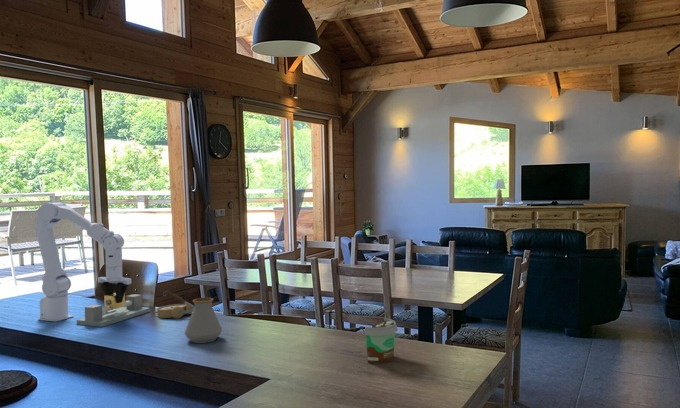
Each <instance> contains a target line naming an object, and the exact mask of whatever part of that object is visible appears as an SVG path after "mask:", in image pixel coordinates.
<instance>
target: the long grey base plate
mask: <svg viewBox="0 0 680 408" xmlns="http://www.w3.org/2000/svg"><path fill="white" fill-rule="evenodd" d="M142 301H143V300H142V294H130V295H129V294H128V295H125V306H123V307H120V308H116V309H108V308H107V307H105V306H104V307H103V305H100V304H92V305H91V304H90V305H88V306H84V317H82V318H79V319H76V325H81V326H90V327H92V326H93V327H100V328H103V327H105V326H110V325H112V324H115V323H118V322H122V321H125V320H128V319H131V318H134V317H137V316H141V315H144V314H146V313H150V311H151V307H143V304H142V303H143V302H142Z"/></svg>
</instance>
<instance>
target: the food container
mask: <svg viewBox="0 0 680 408" xmlns="http://www.w3.org/2000/svg"><path fill="white" fill-rule="evenodd" d="M383 320H384V321H382V322H381V323H380V322H379V323H376V324H374V325H373V326H370V327H369V326H365V330H364V335H365V339H366V340H365V341H366V354H367V355H366V357H367V358H366V359H367V363H368V364H386V363H387V364H388V363H390V362H393V360H394V355H395V354H394V353H395V343H396V342H395V339H396V333H397V332H398V326H397V323H396V321H395V320H394V319H391V318H387V317H384V319H383Z"/></svg>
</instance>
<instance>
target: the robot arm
mask: <svg viewBox="0 0 680 408" xmlns="http://www.w3.org/2000/svg"><path fill="white" fill-rule="evenodd" d="M36 213H37V216H36V220H35V224H34V228H35V233H36V238H37V241H38V246H39V250H40V254H41V259H42V263H43V268H44V271H45V272H44V274H43V276H42V286H41V290H42V293H43V294H44V295H43V296H42V297H41V298H40V301H39V317H38V318H37V320H38V321H48V322H60V321H63V320H66V319H70V318H74V314H73V315H71V314H69V297H68V296H69V289H70V288H71V286H72V282H71V279H70V278H69V277H68V275H67V272H66V271H65V270H64V269H63V268H62V264H61V261H60V255H59V250H58V247H57V242H56V239H55V235H54V230H53V229H54V227H55V226H56V225H57V224H58V222H60V221H62V220H68V221H70V222H71V223H74V224H75V225H77V226H78V227H80V228H81V229H83V230H85V231H86V235H87V236H89V237H90V238H92V239H93V240H94V241H96V242H98V244H100V245H102V248H103V249H104V250H105V276H100V277H97V283H99V284H100V283H102V284H100V288H101V290H102V291H103V293H104V295H108V294H112V293H116V301H117V303H121V302H122V301H123V297H124V293H125V294H126V290H127V289H128V286H129V285H131V284H132V278H129V277H123V250H122V249H123V246H124V244H125V240H124V238H123V236H122V235H121V234H119V233H115V232H114V231H112V230H109V229H108V228H106V227H104V226H105V225H104V224H103V223H99V222H91V221H90V220H88V218H86V217H85V216H83V215H82V214H80V213H79V212H77V211H76V210H75V209H74V208H73V207H72V206H70V205H67V204H66V203H64V202H61V201H59V202H44V203H43V204H41V205H40V206H39V208H37V210H36ZM114 233H115V234H114Z"/></svg>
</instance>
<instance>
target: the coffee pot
mask: <svg viewBox="0 0 680 408" xmlns="http://www.w3.org/2000/svg"><path fill="white" fill-rule="evenodd" d="M164 294H165V295H164ZM168 294H169V296H171V297H172V298H174V299H175V300H176V301H179V302H181V304H186V305H188V306H189V307H191V308H193V309H194V310H193V312H192V314H191V315H190V318H189V320H188V323H187V325H186V328H185V330H184V335H185V337H186V338H187V339H189V341H190V342H192V343H194V344H205V343H210V342H214V341H216V339H217V338H218V337H219V336H220V335H221V333H222V332H223V329H222V326H221V324H220V322H219V319H218V318H217V315H216V312H215V310H214V309H213V306H212V304H213V301H214V298H212V297H198V298H194V299H193V300H192V303H193V304H192V303H189V302H188V301H187V300H185V299H183V298H182V297H180V296H179V295H177V294H175V293H173V292H172V291H169V290H165V291H164V292H163V293H162V296H167V295H168Z"/></svg>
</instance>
